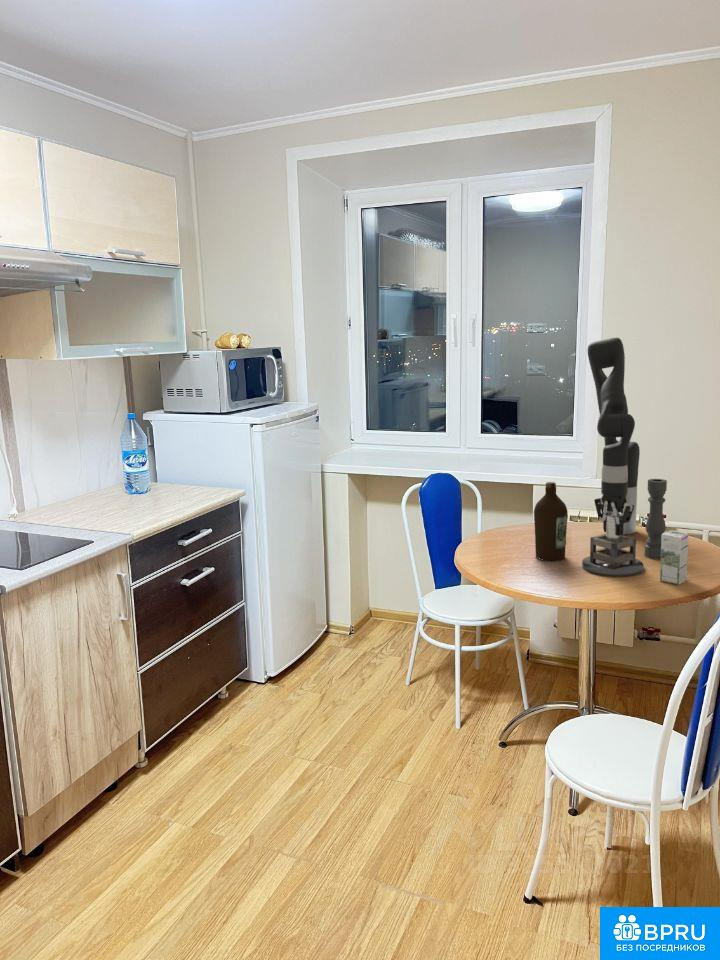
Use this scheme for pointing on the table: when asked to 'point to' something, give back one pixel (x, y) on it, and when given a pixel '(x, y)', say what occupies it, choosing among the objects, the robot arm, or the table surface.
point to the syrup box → (674, 557)
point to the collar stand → (613, 558)
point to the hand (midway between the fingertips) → (613, 533)
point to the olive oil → (550, 525)
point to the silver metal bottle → (611, 532)
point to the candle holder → (655, 518)
